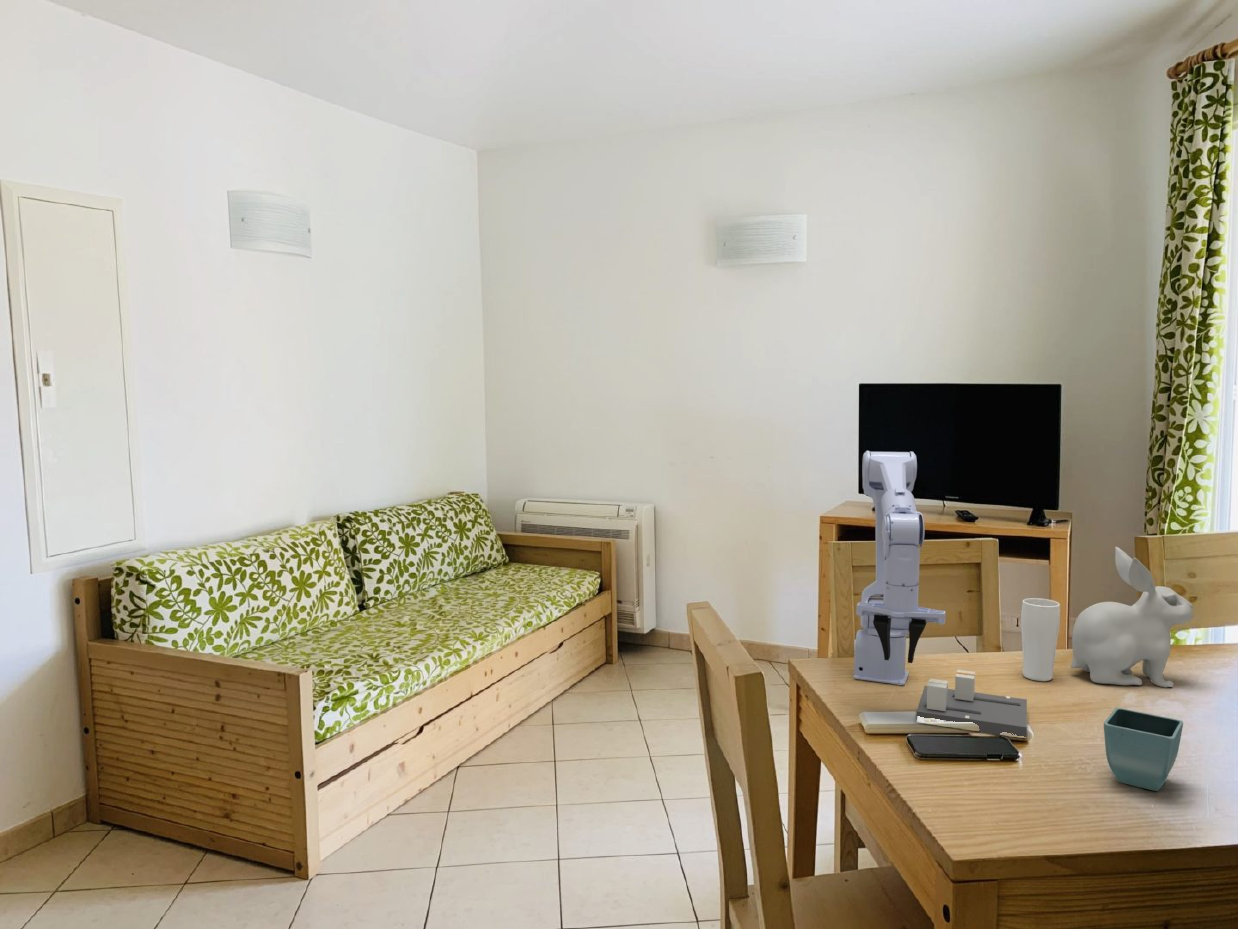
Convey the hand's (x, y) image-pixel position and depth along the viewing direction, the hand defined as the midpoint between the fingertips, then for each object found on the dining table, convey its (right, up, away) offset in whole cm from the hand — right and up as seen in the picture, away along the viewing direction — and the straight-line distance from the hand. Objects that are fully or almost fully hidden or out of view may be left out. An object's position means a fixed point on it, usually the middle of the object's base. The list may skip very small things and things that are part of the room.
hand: (898, 660), depth 156 cm
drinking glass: (+33, -8, +19) cm, 39 cm away
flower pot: (+27, -12, -26) cm, 39 cm away
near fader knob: (+6, -7, -2) cm, 10 cm away
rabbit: (+50, -8, +18) cm, 54 cm away
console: (+12, -10, -1) cm, 16 cm away
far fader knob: (+12, -7, +3) cm, 15 cm away
